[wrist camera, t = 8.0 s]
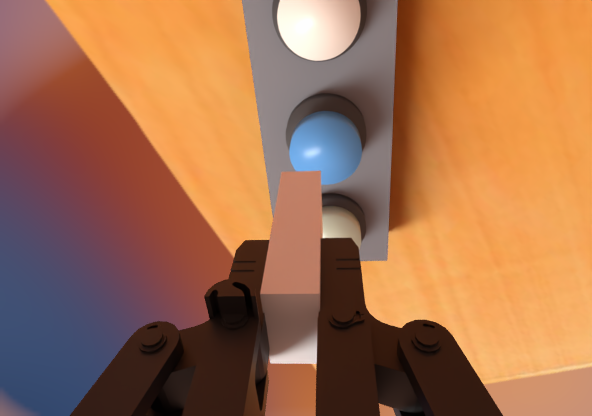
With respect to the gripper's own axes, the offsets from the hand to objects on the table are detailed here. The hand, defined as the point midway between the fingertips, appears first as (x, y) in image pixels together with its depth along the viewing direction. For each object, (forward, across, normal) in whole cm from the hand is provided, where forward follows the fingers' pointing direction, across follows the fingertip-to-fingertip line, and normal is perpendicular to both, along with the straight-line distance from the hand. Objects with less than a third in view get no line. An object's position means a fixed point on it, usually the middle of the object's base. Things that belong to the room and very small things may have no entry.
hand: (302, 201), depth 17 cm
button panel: (+20, +1, -4) cm, 21 cm away
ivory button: (+15, +1, +5) cm, 16 cm away
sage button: (+15, +1, -12) cm, 20 cm away
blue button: (+14, +1, -4) cm, 15 cm away
